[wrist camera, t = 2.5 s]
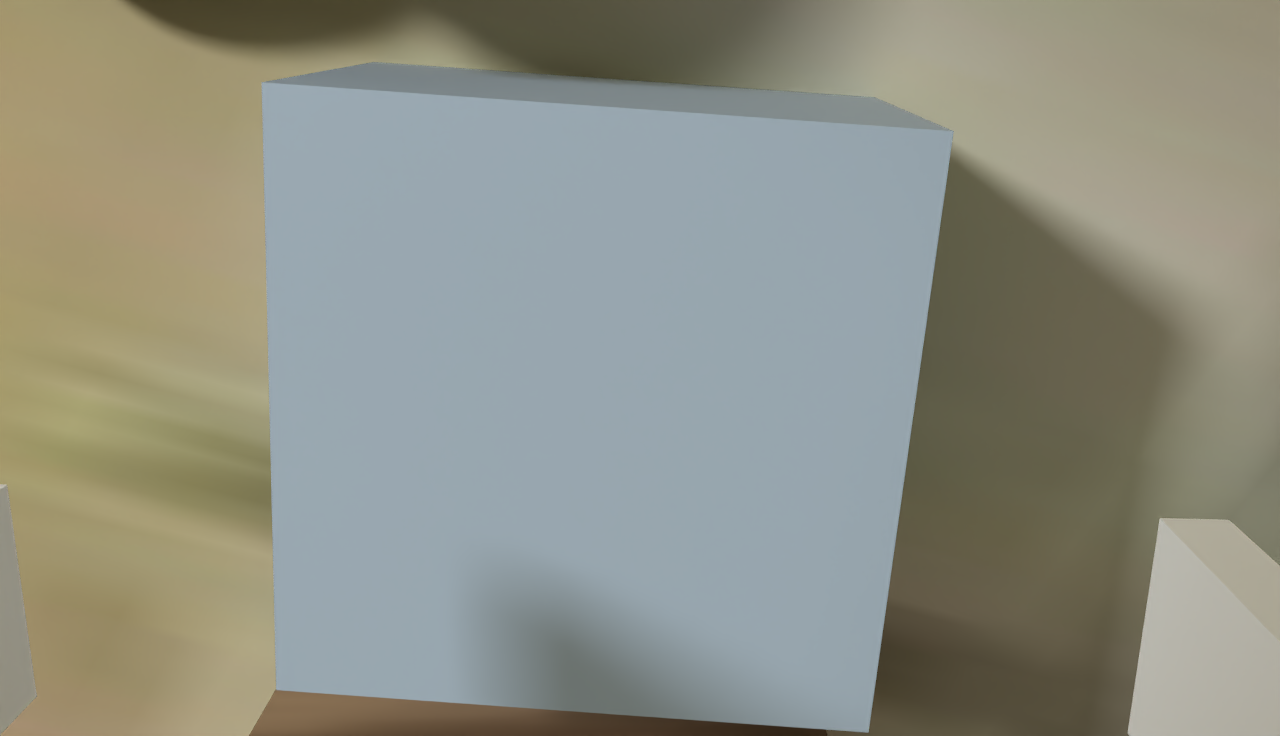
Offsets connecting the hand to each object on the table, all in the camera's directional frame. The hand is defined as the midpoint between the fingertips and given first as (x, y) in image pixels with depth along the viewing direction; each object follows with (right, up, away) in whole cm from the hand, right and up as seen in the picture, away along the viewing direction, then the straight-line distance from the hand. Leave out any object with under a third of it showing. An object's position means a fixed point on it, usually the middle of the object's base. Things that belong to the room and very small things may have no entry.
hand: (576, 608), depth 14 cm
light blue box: (0, +4, +12) cm, 12 cm away
